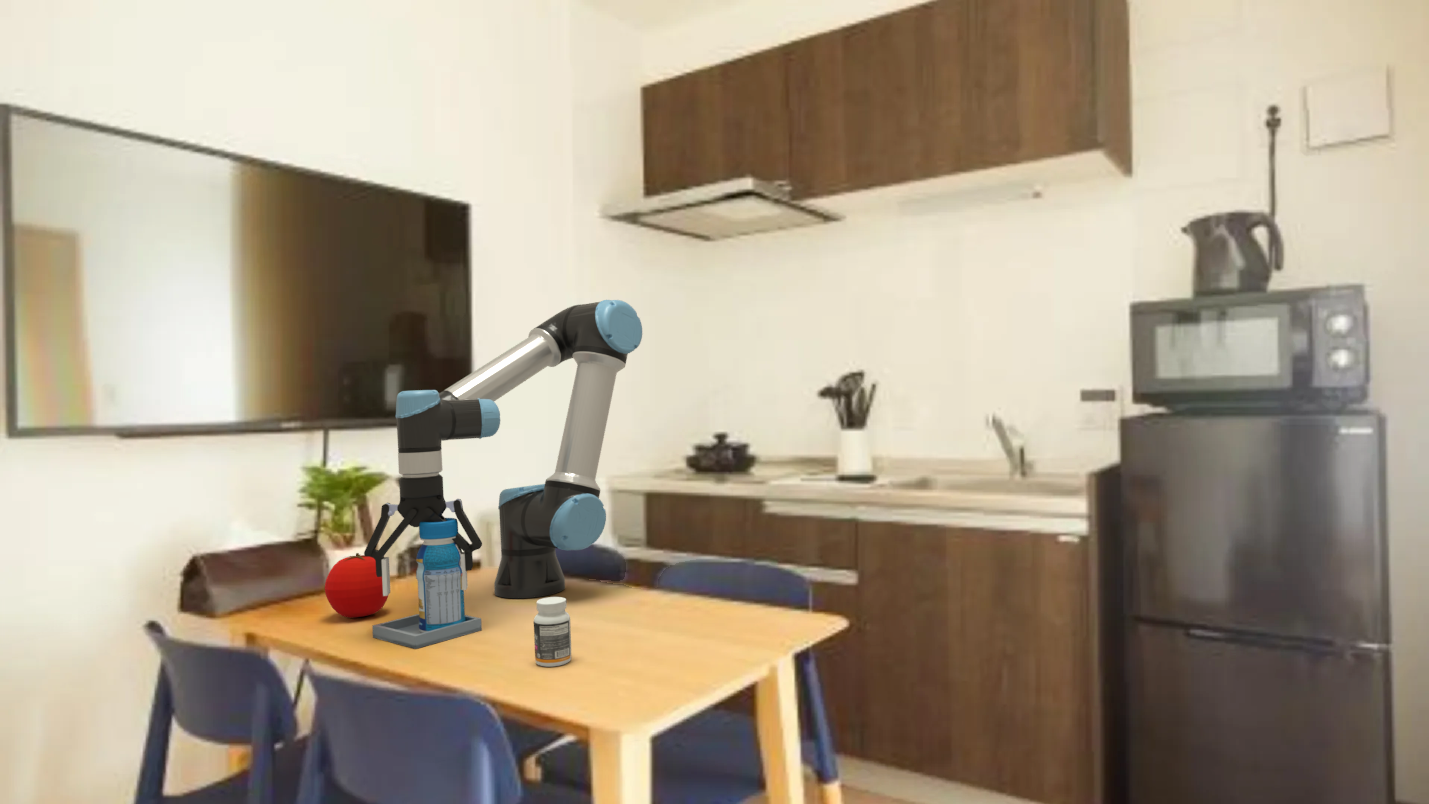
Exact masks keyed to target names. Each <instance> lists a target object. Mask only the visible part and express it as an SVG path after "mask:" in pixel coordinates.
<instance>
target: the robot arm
mask: <svg viewBox="0 0 1429 804" xmlns="http://www.w3.org/2000/svg"><path fill="white" fill-rule="evenodd" d="M642 338H643V325H642V322H641V317H639V316H638V314H637V311H636V309H634V307H633V306H631V305H630V304H629V303H628V302H626V301H623V300H619V299H604V300H601V301H598V302H591V303H590V302H589V303H584V304H576V305H572V306H569V307H567V308H564V309H563V310H561V311H560V312H558V313H556V314H554V315H553V316H551V317H549V318H548V319H547V320H545V321H544V322H542V323H541V324H538V325H537V326H536V327H534V328H533V329H531V330H530V332H529V333H528V337H527V338H525V339H524V340H522V341H520V342H519V343H517V344H515V346H513V347H511V348H509V349H508V350H506V351H505V352H503V353H501V354H499V355H498V356H497V357H495V358H493V359H492V360H490V361H489V362H487V363H485V364H484V365H482V366H481V367H479V368H478V369H475V370H474V371H472V372H471V373H469V374H468V375H466V376H465V377H463V378H462V379H460V380H458V381H456V382H455V383H453V384H452V385H450V386H449V387H447V388H445V389H444V390H442V391H441V392H438V390H436V389H422V390H421V389H420V390H419V389H418V390H415V389H414V390H402V391H400V392H399V393H397V395H396V403H395V419H396V433H397V448H398V449H397V451H398V452H397V460H398V461H397V462H398V463H397V464H398V474H399V475H402V477H400V478H399V479H398V481H399V486H398V487H399V503H398V504H396V503H395V504H394V503H393V504H392V503H390V502H386V503H384V504H382V506H381V508H380V509H381V511H380V518H379V519H378V522H377V525H375V529H374V530H373V532H372V535H371V537H370V539H369V541H368V544H367V546H366V548H365V550H364V552H363V555H365V556H367V557H368V556H369V557H372V558H374V559H375V561H376V575H377V577H382V583H383V596H388V597H389V595H390V594H391V573H390V572H391V571H390V557H389V556H385V555H387V553H388V551H389V550H390V549H391V548H392V546H393V545H394V544H395V543H396V542H397V540H398V539H399V537H401V536H402V534H403V533H404V532H405V530H406V529H407V528H408V526H411V527H413V528H419V525H420V522H444V521H447V520H446V518H447V517H445V516H444V515H443V514H444V512H445V511H446V509H449V510H450V511H451V513H454V514H455V516H456V519H457V521H458V523H460V525H461V527H462V529H463V530H464V532H465V534H466V535H467V538H468V539H469V540H470V542H468V540H467V539H466V538H464V536H462V534H461V533H460V532H458V534H456V538H453V539H452V540H453V541H454V542H455V543H456V544H457V545H458V546H459V547H460V548H461V550H462V554H461V560H460V562H461V568H462V572H463V575H462V590H464V591H466V590H467V589H468V588H469V587H468V572H469V571H472V569H473V566H474V563H473V552H474V551H477V550H479V549H481V547H482V546H483V541H482V540H481V538H480V536H479V535H478V533H477V531H476V530H475V528H474V527H473V525H472V523H471V521H470V520H469V517H468V516H467V515H466V514H467V513H466V512H465V511H464V507H463V501H462V499H461V498H456V499H455V500H449V501H446V500H445V497H444V477H443V476H442V474H440V473H441V472H442V471H443V455H442V441H450V440H469V439H471V440H472V439H479V440H481V439H482V438H483V439H484V438H490V437H493V436H495V435H496V434H497V432H499V431H498V430H499V429H500V425H501V412H500V411H501V410H500V408H499V406H498V404H497V403H496V402H495V401H497V400H499V399H500V398H502V397H503V396H505V395H506V394H508V393H509V392H511V391H512V390H514V389H515V388H517V387H518V386H520V385H521V384H523V383H524V382H526V381H527V380H528V379H530V378H532V377H533V376H535V375H536V374H538V373H539V372H541V371H543V370H544V369H545V368H547V367H550V368H554V367H557V366H558V365H560V364H561V363H563V362H565V361H568V360H570V359H573V360H574V361H575V362H576V364H577V366H576V372H575V376H574V381H573V386H572V391H571V395H570V398H569V399H570V400H569V403H568V410H567V413H566V418H565V422H564V423H565V424H564V428H563V431H562V437H561V441H560V447H559V451H558V454H557V455H558V456H557V462H556V466H555V469H554V473H553V474H552V475H550V476H549V477H547V478H546V479H545V482H544V483H542V484H533V485H526V486H518V487H511V488H505V489H503V490H502V491H501V492H500V493H499V498H498V499H499V500H498V512H499V526H500V527H499V529H500V531H499V532H500V551H501V552H500V554H501V555H500V556H501V558H500V562H499V566H498V568H497V572H496V576H495V580H494V586H493V588H494V590H493V591H494V595H495V596H497V597H500V598H504V599H505V598H506V599H530V598H531V599H532V598H540V597H546V596H551V595H554V594H559V593H560V592H562V591H563V590H565V589H566V580H565V575H564V572H563V570H562V568H561V564H560V561H559V560H558V556H557V553H556V549H559V550H562V551H581V550H585V549H587V548H590V546H592V545H593V544H594V543H596V542H597V541H598V540H599V538H600V536H601V535H602V533H604V529H605V526H606V522H607V511H606V509H605V508H604V503H603V501H602V500H601V499H600V495H601V488H600V486H599V485H598V484H597V481H596V479H597V478H596V476H597V473H598V467H599V463H600V459H601V458H600V457H601V453H602V452H601V451H602V448H603V443H604V438H605V432H606V428H607V423H608V418H609V415H610V414H609V413H610V408H611V402H612V399H613V393H614V390H615V389H614V388H615V383H616V378H617V373H619V372H620V371H621V370H623V369H625V367H626V365H627V364H626V363H627V359H628V355H629V354H630V353H632V352H634V351H635V350H636V349H638V347H639V346H640V344H641V342H642ZM396 511H397V512H398V514H399V515H400V516H401V517H402V518H403V519H402V520H401V521H400V523H399V524H398V526H397V527H396V528H395V529H394V531H393V532H392V533H391V534H390V535H389V536H388V538H387V539H386V541H384V543H383V544H381V547H380V548H378V549H377V546H378V545H379V542H380V540H381V537H382V536H383V534H384V531H385V529H386V527H387V525H388V522H389V521H390V518H391V517H393V515H395V512H396Z"/></svg>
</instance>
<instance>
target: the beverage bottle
mask: <svg viewBox="0 0 1429 804" xmlns="http://www.w3.org/2000/svg"><path fill="white" fill-rule="evenodd" d="M445 518H446V520H447V521H444V522H420V525H419V527H418V531H419V532H418V534H419V539H420V540H421V541H423V543H422V544H421V545H420V547H419V549H418V552H417V554H416V559H415V562H416V563H417V568H416V571H415V579H416V580H417V591H418V592H417V594H418V595H417V597H418V614H419V630H420V632H422V633H424V632H428V631H431V630H435V629H439V628H443V627H446V626H450V625H454V624H457V623H461V622H465V621H466V619H465V615H466V613H465V590H462V575H463V572H462V568H461V562H460V560H461V554H462V552H463V550H462V549H461V548H460V547H459V546H458V545H457V544H456V543H455V542H454V541H453V540H452V539H453V538H456V534H458V533H459V521H458V518H455V517H445Z"/></svg>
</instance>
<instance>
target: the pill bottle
mask: <svg viewBox="0 0 1429 804" xmlns="http://www.w3.org/2000/svg"><path fill="white" fill-rule="evenodd" d="M566 609H567V598H565V597H561V596H550V597H543V598H540V599H537V601H536V610H537V612H538V613H537V614H536V615H535V616H534V618H533V632H534V633H533V634H534V635H533V637H534V659H535V660H534V661H535V664H537V666H540V667H544V668H545V667H547V668H549V667H550V668H552V667H559V666H564V665H566V664H568V663H569V662H571V660H572V636H571V635H572V633H571V631H572V630H571V615H570V614H569V613H568V612H567V611H566Z"/></svg>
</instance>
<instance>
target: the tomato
mask: <svg viewBox="0 0 1429 804" xmlns="http://www.w3.org/2000/svg"><path fill="white" fill-rule="evenodd" d="M324 592H325V597H326V599H327V601H328V603H329V605H330V607H331V608H332V609H333V610H334V611H335V612H336V613H337V614H338V615H340V616H342V617H344V618H348V619H355V618H363V617H367V616H371V615H374V614H376V613H377V612H379V611H380V610H381V609H383V607H384V606H385V605H386V602H387V600H388V598H389V595H388V596H383V583H382V577H377V575H376V561H375V559H374V558H372V557H369V556H368V557H367V556H365V555H364V554H363V555H362V554H360V553H359V552H356V553H355V555H348V556H346V557H345V556H344V557H342V559H340V560H338V561H337V562H336V563H335V564H334V565H333V566H332V568H331V569H330V571H329V572H328V574H327V577H326V579H325V583H324Z"/></svg>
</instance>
